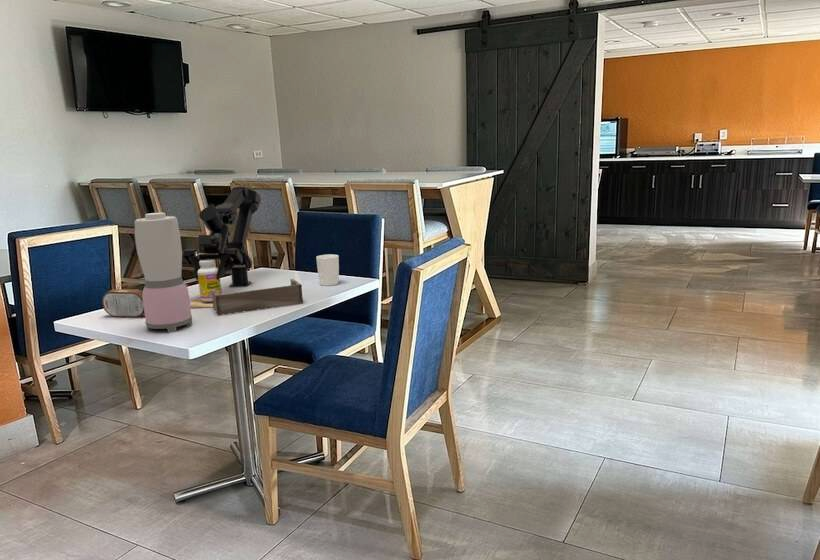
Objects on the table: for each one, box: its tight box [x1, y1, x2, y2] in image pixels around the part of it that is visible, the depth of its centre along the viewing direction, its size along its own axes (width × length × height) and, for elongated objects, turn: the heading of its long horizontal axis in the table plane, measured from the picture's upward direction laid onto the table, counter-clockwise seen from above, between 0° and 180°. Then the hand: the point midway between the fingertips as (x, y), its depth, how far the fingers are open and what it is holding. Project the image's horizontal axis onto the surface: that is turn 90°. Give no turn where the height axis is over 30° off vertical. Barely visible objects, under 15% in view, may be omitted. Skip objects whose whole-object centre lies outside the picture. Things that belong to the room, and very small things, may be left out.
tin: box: [101, 288, 145, 318], centre depth 188 cm, size 15×3×8 cm, turn 78°
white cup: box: [315, 253, 340, 287], centre depth 221 cm, size 8×8×10 cm
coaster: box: [190, 296, 213, 309], centre depth 201 cm, size 14×14×1 cm
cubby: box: [211, 278, 304, 316], centre depth 194 cm, size 10×26×6 cm, turn 114°
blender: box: [133, 212, 193, 333], centre depth 173 cm, size 16×12×32 cm
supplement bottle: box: [197, 259, 223, 301], centre depth 200 cm, size 7×7×13 cm
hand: (207, 279), depth 199 cm, fingers open, 7 cm apart
